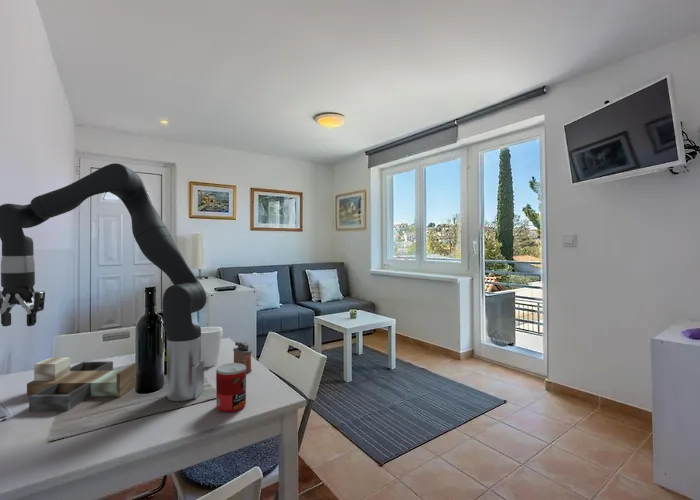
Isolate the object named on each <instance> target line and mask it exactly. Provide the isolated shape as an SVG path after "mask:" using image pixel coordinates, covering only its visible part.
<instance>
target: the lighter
mask: <svg viewBox="0 0 700 500" xmlns="http://www.w3.org/2000/svg"><path fill="white" fill-rule="evenodd" d="M234 345H235V346H236V347H233V349H232V350H233V363H241V364H244V365H245V366H246V374H250V373H249V372H251V371H253V369H252V353H253V352H252V350H251V349H250V348H249V344H248V343H247V342H246V341H243V342H241V341H236V342H235V343H234ZM251 373H252V372H251Z"/></svg>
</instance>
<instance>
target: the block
mask: <svg viewBox="0 0 700 500" xmlns="http://www.w3.org/2000/svg"><path fill="white" fill-rule="evenodd" d="M70 368H71V357H48V358H46V359H44V360H41V361H39V362H37V363H36V362H35V363H34V364H33V371H34V372H33V373H34V374H33V375H34V376H33V377H34V378H33V379H34V380H33V381H56V380H58V379H60V378H62V377H64V376H66V375H68V374H70Z"/></svg>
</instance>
